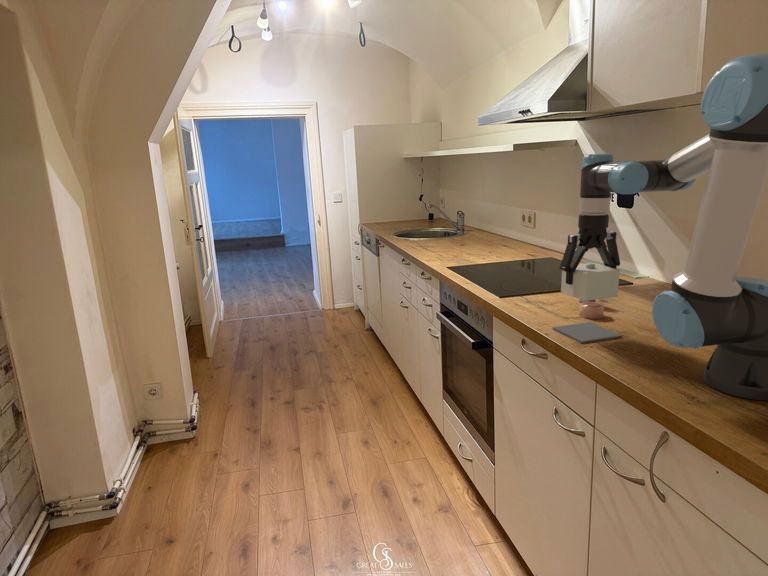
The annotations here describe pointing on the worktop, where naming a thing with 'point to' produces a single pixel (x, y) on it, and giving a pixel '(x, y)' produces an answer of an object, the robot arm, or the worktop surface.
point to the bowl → (591, 310)
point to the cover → (594, 282)
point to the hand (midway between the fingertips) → (588, 293)
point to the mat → (586, 332)
